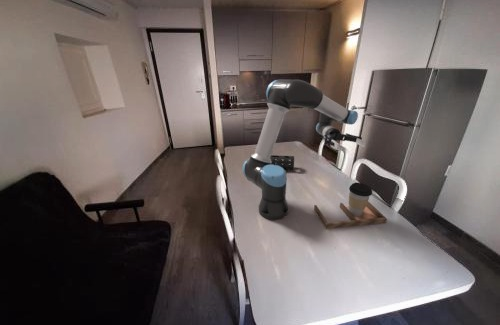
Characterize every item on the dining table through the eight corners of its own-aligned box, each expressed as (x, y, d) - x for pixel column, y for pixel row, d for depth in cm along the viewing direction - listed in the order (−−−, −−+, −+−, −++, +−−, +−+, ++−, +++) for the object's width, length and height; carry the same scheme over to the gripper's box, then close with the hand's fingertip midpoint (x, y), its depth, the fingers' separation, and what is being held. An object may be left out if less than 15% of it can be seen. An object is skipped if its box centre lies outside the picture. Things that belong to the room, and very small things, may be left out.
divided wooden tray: (325, 228, 88) (326, 224, 87) (313, 209, 101) (314, 205, 100) (385, 223, 90) (387, 218, 89) (366, 204, 102) (367, 200, 101)
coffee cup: (346, 205, 102) (352, 179, 96) (367, 211, 97) (374, 185, 91) (342, 215, 95) (347, 188, 89) (364, 222, 90) (371, 194, 84)
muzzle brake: (293, 172, 139) (294, 158, 134) (254, 170, 144) (253, 157, 140) (293, 166, 147) (294, 153, 143) (256, 164, 152) (256, 152, 148)
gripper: (350, 138, 119) (373, 151, 100) (310, 141, 117) (325, 154, 98) (352, 126, 116) (377, 136, 97) (311, 128, 114) (327, 139, 95)
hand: (351, 145), depth 97 cm, fingers open, 13 cm apart
